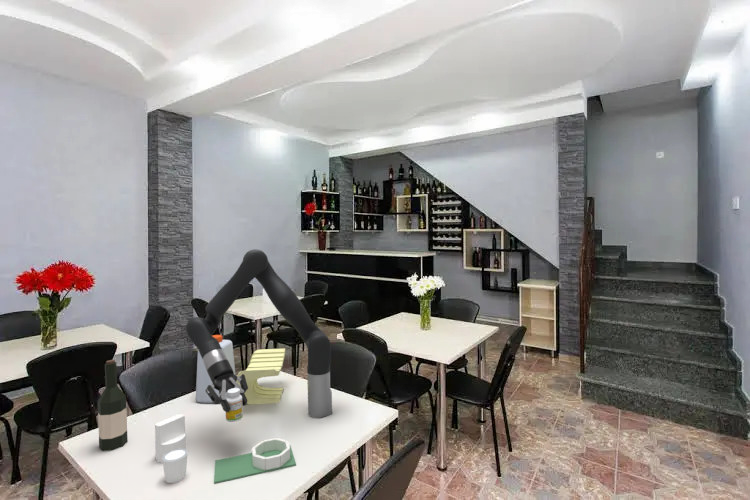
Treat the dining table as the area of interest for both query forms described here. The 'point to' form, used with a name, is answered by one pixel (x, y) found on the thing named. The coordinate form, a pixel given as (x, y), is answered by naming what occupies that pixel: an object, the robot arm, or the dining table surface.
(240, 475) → the green board with ring
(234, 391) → the supplement bottle
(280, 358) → the slatted curved stool
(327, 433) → the dining table surface
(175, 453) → the white tapered cup
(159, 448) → the cylinder with rectangular tab
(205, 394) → the plastic bottle
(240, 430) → the dining table surface
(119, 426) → the wine bottle
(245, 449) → the dining table surface
